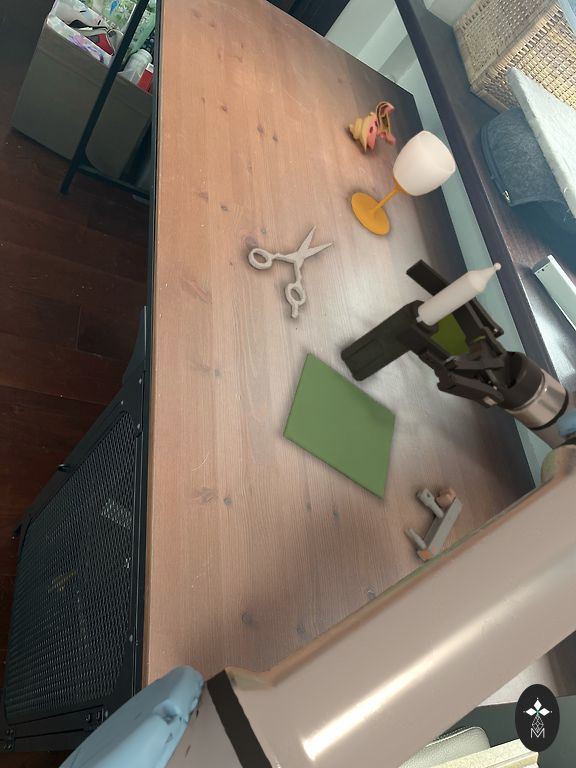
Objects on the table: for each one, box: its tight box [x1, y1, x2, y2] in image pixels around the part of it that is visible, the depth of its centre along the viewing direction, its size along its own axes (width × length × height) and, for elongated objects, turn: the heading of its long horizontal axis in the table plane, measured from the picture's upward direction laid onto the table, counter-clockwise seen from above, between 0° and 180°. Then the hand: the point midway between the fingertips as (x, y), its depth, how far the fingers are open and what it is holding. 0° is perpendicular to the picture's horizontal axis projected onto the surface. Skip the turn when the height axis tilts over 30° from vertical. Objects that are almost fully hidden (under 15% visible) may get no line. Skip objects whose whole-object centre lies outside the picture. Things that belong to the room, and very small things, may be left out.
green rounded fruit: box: [430, 313, 482, 358], centre depth 98 cm, size 9×8×12 cm
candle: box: [340, 262, 502, 382], centre depth 80 cm, size 5×5×25 cm
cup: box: [350, 130, 456, 236], centre depth 104 cm, size 9×9×16 cm
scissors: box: [247, 224, 335, 319], centre depth 90 cm, size 11×1×20 cm
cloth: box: [283, 352, 396, 499], centre depth 81 cm, size 14×16×1 cm
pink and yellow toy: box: [349, 101, 397, 154], centre depth 119 cm, size 9×10×10 cm
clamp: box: [407, 487, 464, 562], centre depth 81 cm, size 15×2×10 cm
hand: (408, 296), depth 78 cm, fingers open, 12 cm apart
